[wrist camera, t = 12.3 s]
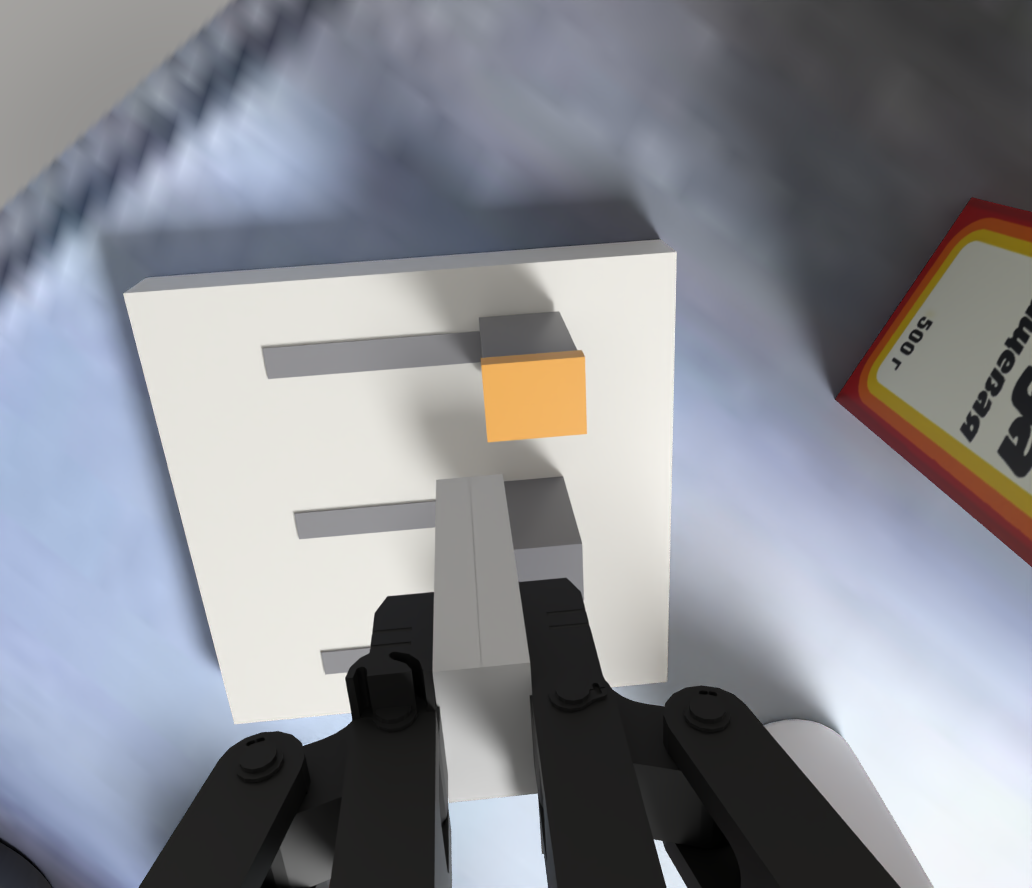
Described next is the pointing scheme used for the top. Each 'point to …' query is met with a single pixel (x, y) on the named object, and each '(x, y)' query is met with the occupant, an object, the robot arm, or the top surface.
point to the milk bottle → (850, 794)
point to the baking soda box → (962, 372)
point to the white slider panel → (404, 449)
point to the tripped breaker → (531, 377)
